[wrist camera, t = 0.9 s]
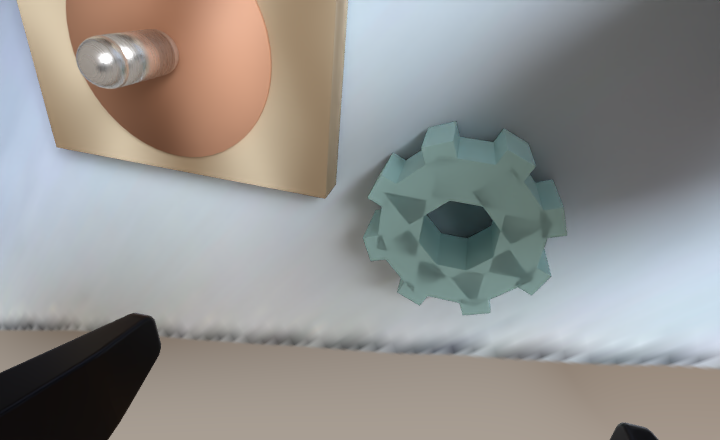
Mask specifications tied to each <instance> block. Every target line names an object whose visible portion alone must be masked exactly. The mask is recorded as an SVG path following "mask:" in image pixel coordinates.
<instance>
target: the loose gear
mask: <svg viewBox="0 0 720 440" xmlns="http://www.w3.org/2000/svg"><path fill="white" fill-rule="evenodd" d="M421 149H422V150H421V151H419V152H418V153H416V154H415V155H413V156H412V157H410V158H409V159H407V160H405V159H403V158H401V157H400V156H398V155H396V154H394V153H392V155H391V157H390V158H389V160H388V162H387V163H386V165H385V166H384V168H383V170H382V171H381V173H380V175H379V177H378V179H377V181H376V182H375V184H374V186H373V188H372V190H371V192H370V194H369V196H368V199H370V200H371V201H373V202H375V203H377V204H378V205H380V206H382V208H381V209H380V210H376V211H375V213H374V215H373V217H372V219H371V222H370V224H369V226H368V228H367V230H366V232H365V235H364V237H363V240H364V243H365V246H366V249H367V252H368V255H369V258H370V261H377V260H385V259H386V261H387V262H388V263H389V264H390V265H391V267H392V268H393V269H394V270H395V271H396V273H397V274H398V275H399V276H400V277H401V279H400V283H399V287H398V291H397V293H399V294H401V295H402V296H404V297H406V298H408V299H409V300H411V301H413V302H414V303H416V304H418V305H421V303H422V302H423V301H424V300H425V299H426V298H427V296H430V297H435V298H439V299H444V300H448V301H453V302H457V303H460V306H461V310H462V314H463V315H473V314H485V313H490V299H492V298H494V297H497V296H499V295H501V294H504V293H506V292H508V291H510V290H513V289H515V288H517V287H518V288H520V289H522V290H523V291H525V292H527V293H528V294H530V295H533V294H534V293H535V292H536V291H537V290H538V289H539V288H540V287H541V286H542V285H543V284H544V283H545V282H546V281H547V280H548V279H549V278H550V277H551V273H550V269H549V265H548V261H547V258H546V254H545V250H544V247H545V244H546V241H547V238H552V237H560V236H567V231H566V222H565V214H564V207H563V204H562V202H561V199H560V197H559V194H558V192H557V189H556V187H555V184H554V181H553V180H547V181H541V182H535V181H534V180H533V178H532V177H531V175H530V173H531V172H532V171H533V170H534V169H535V167H536V165H535V162H534V159H533V156H532V153H531V150H530V147H529V144H528V143H527V142H525V141H524V140H522V139H520V138H519V137H517V136H515V135H514V134H512V133H511V132H509V131H507V130H506V129H503V130H502V131H501V133H500V134H499V135H498V137H497V138H496V139H495V141H494V142H490V141H484V140H477V139H471V138H465V137H460V136H459V131H458V126H457V121H455V122H451V123H446V124H442V125H438V126H433V127H429V128H428V130H427V133H426V136H425V138H424V141H423V144H422V147H421ZM448 201H455V202H461V203H466V204H471V205H477V206H482V207H484V209H485V210H486V211H487V213H488V214H489V216H490V217H491V218H492V220H493V221H492V225H491V226H490V227H488V228H486V229H484V230H482V231H481V232H479V233H477V234H475V235H473V236H471V237H469V238H463V237H458V236H453V235H448V234H443V233H440V231H439V230H438V229H437V227H436V226H435V225H434V224H433V222H432V221H431V220H430V218H429V217H428V216H427V215H426V214H428V213H430V212H432V211H433V210H435V209H437V208H438V207H440V206H442V205H443V204H445V203H447V202H448Z"/></svg>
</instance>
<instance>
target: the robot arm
mask: <svg viewBox="0 0 720 440" xmlns="http://www.w3.org/2000/svg"><path fill="white" fill-rule="evenodd" d="M160 349H161V343H160V338H159V335H158V331H157V327H156V323H155V320H154V319H153V318H152V317H151V316H148V315H144V314H139V313H132V314H129V315H127V316H125V317H123V318H120V319H118V320H116V321H114V322H111V323H109V324H107V325H105V326H103V327H100V328H98V329H96V330H94V331H92V332H89V333H87V334H85V335H83V336H81V337H79V338H76V339H74V340H72V341H70V342H67V343H65V344H63V345H61V346H59V347H57V348H54V349H52V350H50V351H47V352H45V353H43V354H41V355H39V356H37V357H34V358H32V359H30V360H28V361H26V362H23V363H21V364H19V365H17V366H14V367H12V368H10V369H8V370H6V371H3V372H1V373H0V440H108V439H109V437H110V436H111V434H112V433H113V431H114V430H115V428H116V427H117V426H118V424H119V423H120V421H121V419H122V417H123V416H124V414H125V413H126V411H127V409H128V408H129V406H130V404H131V402H132V401H133V399H134V397H135V396H136V394H137V392H138V390H139V389H140V387H141V385H142V383H143V382H144V380H145V378H146V377H147V375H148V373H149V371H150V370H151V368H152V366H153V365H154V363H155V361H156V359H157V357H158V356H159V353H160ZM610 440H658V439H657V437H656V436H655V435H654V434H653V433H652V432H651V431H650V430H648V429H647V428H645V427H642V426H637V425H633V424H629V423H620V424H618V426H617V427H616V429H615V431H614V433H613V435H612V436H611V439H610Z"/></svg>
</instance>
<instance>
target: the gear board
mask: <svg viewBox="0 0 720 440" xmlns="http://www.w3.org/2000/svg"><path fill="white" fill-rule="evenodd" d="M17 3H18V7H19V11H20V14H21V18H22V22H23V25H24V29H25V33H26V36H27V40H28V44H29V47H30V51H31V55H32V58H33V62H34V66H35V69H36V73H37V77H38V80H39V84H40V88H41V91H42V95H43V99H44V102H45V106H46V110H47V114H48V117H49V121H50V125H51V128H52V132H53V136H54V139H55V143H56V147H58V148H63V149H69V150H74V151H79V152H84V153H90V154H95V155H100V156H105V157H110V158H116V159H121V160H126V161H131V162H137V163H142V164H147V165H152V166H157V167H163V168H168V169H173V170H178V171H184V172H189V173H194V174H199V175H204V176H210V177H215V178H220V179H225V180H231V181H236V182H241V183H246V184H252V185H257V186H262V187H267V188H272V189H278V190H283V191H288V192H293V193H299V194H304V195H309V196H314V197H319V198H325V199H326V197H327V196H328V194H329V193H330V192H331V190H332V189H333V188H334V186H335V185H336V173H337V158H338V143H339V128H340V113H341V98H342V83H343V68H344V53H345V38H346V23H347V8H348V0H17ZM144 29H156V30H159V31H162V32H164V33H166V34H167V35H168V36H170V37H171V38H172V39H173V41H174V42H175V44H176V46H177V48H178V52H179V60H178V63H177V66H176V67H175V69H174V70H173V71H172V72H170V73H168V74H166V75H163V76H160V77H156V78H153V79H149V80H145V81H142V82H138V83H134V84H131V85H127V86H124V87H120V88H115V89H105V88H101V87H98V86H96V85H94V84H92V83H91V82H89V81H88V80H87V79H86V78H85V77H84V76H83V75H82V74H81V72H80V70H79V68H78V66H77V62H76V53H77V49H78V47H79V46H80V44H81V43H82V42H83V41H84V40H86V39H87V38H89V37H92V36H95V35H104V34H112V33H120V32H128V31H136V30H144Z"/></svg>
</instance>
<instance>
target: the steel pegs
mask: <svg viewBox="0 0 720 440" xmlns="http://www.w3.org/2000/svg"><path fill="white" fill-rule="evenodd" d="M178 60H179V52H178V48H177V46H176V44H175V42H174V41H173V39H172V38H171V37H170V36H168V35H167V34H166V33H164V32H162V31H159V30H156V29H144V30H136V31H128V32H120V33H112V34H104V35H95V36H92V37H89V38H87V39H86V40H84V41H83V42H82V43H81V44H80V46H79V47H78V49H77V53H76V62H77V66H78V68H79V70H80V72H81V74H82V75H83V76H84V77H85V78H86V79H87V80H88V81H89V82H91V83H92V84H94V85H96V86H98V87H101V88H105V89H115V88H120V87H124V86H127V85H131V84H134V83H138V82H142V81H145V80H149V79H153V78H156V77H160V76H163V75H166V74H168V73H170V72H172V71H173V70H174V69H175V67H176V66H177V63H178Z"/></svg>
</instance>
